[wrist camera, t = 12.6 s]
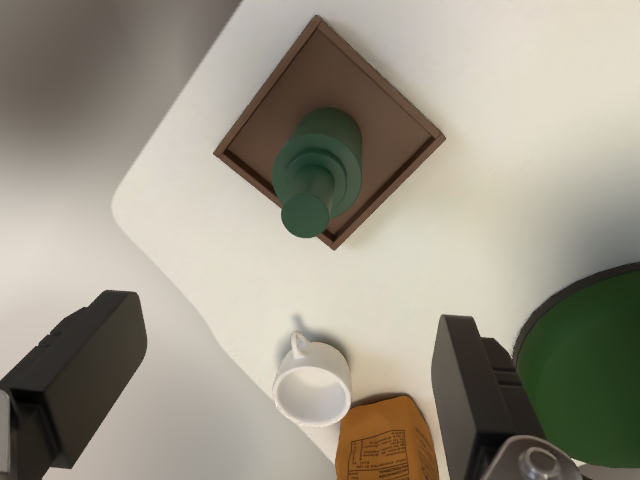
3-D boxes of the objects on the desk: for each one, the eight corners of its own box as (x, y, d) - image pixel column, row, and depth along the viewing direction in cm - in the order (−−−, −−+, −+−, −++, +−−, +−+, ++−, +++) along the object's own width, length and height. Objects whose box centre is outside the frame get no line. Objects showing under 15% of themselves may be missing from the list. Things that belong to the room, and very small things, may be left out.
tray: (219, 147, 37) (212, 153, 35) (318, 15, 32) (315, 14, 30) (335, 241, 40) (334, 251, 38) (442, 133, 35) (446, 138, 33)
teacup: (361, 380, 47) (361, 420, 42) (295, 392, 49) (287, 432, 44) (334, 306, 43) (330, 341, 38) (263, 322, 45) (251, 357, 40)
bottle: (281, 127, 36) (227, 193, 21) (342, 93, 34) (327, 139, 20) (315, 185, 37) (285, 282, 23) (373, 156, 36) (381, 239, 22)
